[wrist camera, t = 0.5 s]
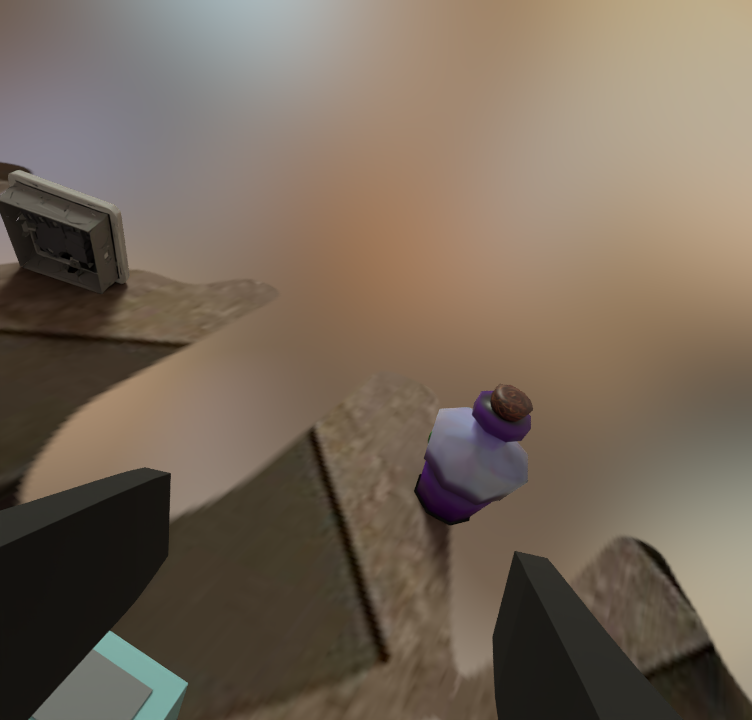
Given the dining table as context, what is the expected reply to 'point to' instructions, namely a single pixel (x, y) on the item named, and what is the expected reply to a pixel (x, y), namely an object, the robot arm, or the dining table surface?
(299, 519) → the dining table surface
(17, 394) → the dining table surface
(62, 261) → the electrical switch
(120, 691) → the teal module
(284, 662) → the dining table surface
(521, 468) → the potion bottle
